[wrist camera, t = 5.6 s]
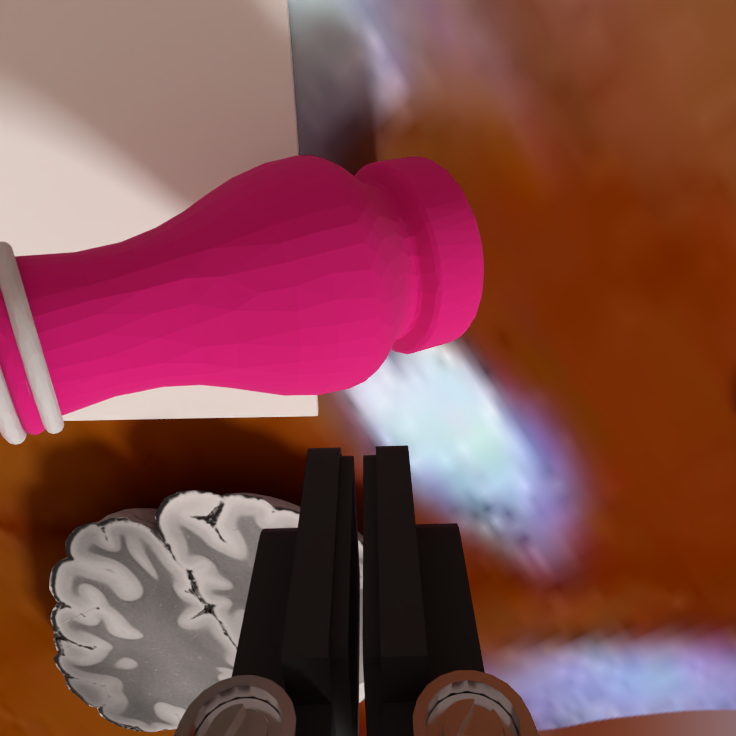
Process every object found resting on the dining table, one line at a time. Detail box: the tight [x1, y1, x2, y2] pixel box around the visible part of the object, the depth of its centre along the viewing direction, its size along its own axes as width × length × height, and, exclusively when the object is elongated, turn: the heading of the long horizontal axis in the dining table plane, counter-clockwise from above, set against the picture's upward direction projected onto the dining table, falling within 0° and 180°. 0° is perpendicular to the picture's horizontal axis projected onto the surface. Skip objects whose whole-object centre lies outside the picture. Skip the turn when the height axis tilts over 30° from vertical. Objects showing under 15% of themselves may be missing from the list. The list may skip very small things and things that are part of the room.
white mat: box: [0, 0, 318, 421], centre depth 24 cm, size 16×20×1 cm
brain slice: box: [49, 490, 365, 732], centre depth 33 cm, size 20×17×3 cm
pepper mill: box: [0, 155, 484, 444], centre depth 18 cm, size 7×7×20 cm
